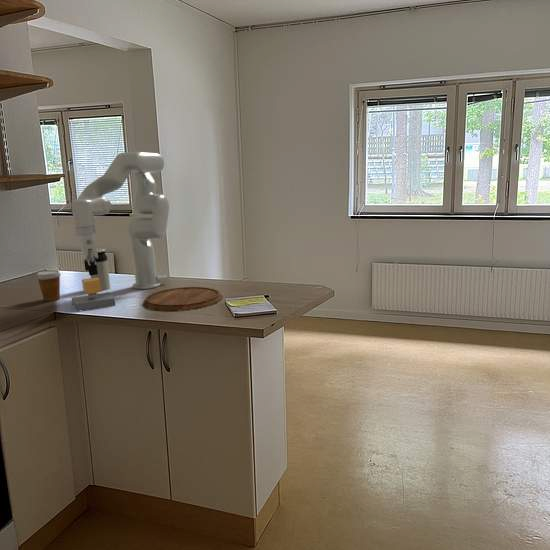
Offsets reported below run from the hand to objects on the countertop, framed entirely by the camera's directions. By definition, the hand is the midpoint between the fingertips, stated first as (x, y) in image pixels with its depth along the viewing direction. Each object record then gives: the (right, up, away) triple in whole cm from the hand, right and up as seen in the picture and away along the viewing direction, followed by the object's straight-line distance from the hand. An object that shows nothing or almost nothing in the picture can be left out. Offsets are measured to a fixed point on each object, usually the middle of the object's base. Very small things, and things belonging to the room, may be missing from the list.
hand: (91, 272), depth 216 cm
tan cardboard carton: (0, -8, +1) cm, 8 cm away
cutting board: (+36, -12, +4) cm, 39 cm away
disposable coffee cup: (-22, -12, +14) cm, 29 cm away
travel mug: (-6, -8, +31) cm, 32 cm away
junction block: (0, -13, +2) cm, 13 cm away
